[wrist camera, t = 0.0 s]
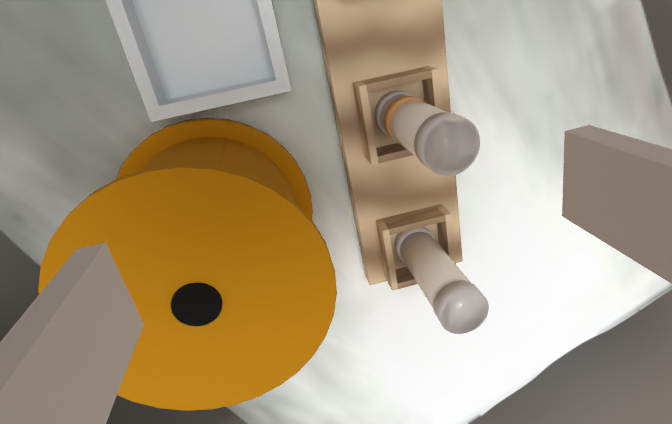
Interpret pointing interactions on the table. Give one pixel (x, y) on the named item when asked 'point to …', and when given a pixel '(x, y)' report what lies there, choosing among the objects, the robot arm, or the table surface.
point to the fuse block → (370, 141)
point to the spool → (209, 263)
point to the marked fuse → (428, 132)
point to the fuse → (441, 281)
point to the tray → (200, 52)
